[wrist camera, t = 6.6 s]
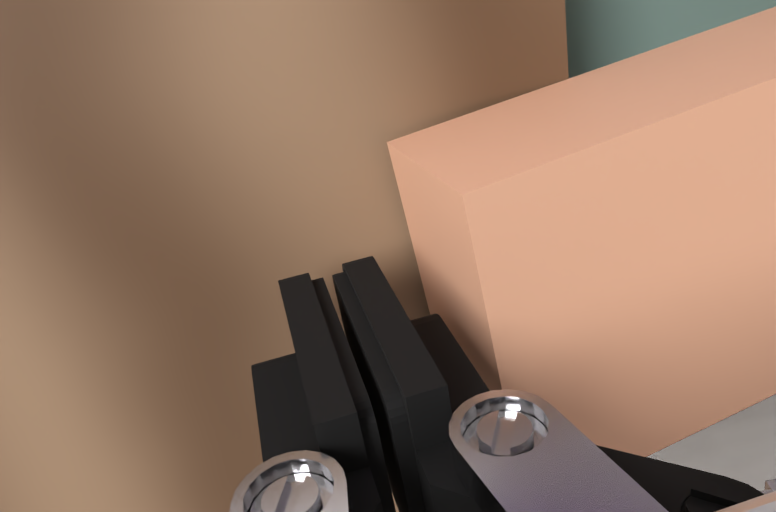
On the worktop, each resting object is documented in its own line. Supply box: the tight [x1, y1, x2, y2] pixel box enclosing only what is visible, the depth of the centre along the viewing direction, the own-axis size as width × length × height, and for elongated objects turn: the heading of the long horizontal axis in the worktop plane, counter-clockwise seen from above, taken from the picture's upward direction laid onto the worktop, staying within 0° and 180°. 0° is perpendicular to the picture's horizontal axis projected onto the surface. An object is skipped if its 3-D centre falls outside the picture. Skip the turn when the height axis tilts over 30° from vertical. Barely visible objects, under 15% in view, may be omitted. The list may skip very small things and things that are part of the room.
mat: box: [565, 0, 776, 78], centre depth 18 cm, size 12×14×1 cm
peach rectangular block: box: [387, 7, 776, 457], centre depth 12 cm, size 9×6×3 cm, turn 104°
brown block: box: [0, 0, 569, 512], centre depth 14 cm, size 15×14×4 cm
